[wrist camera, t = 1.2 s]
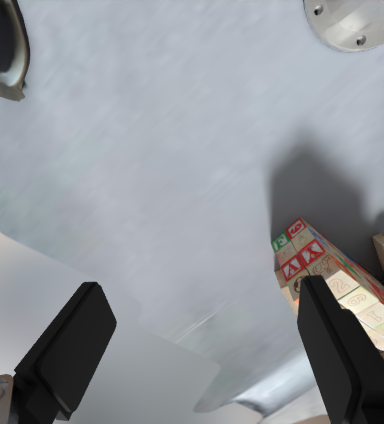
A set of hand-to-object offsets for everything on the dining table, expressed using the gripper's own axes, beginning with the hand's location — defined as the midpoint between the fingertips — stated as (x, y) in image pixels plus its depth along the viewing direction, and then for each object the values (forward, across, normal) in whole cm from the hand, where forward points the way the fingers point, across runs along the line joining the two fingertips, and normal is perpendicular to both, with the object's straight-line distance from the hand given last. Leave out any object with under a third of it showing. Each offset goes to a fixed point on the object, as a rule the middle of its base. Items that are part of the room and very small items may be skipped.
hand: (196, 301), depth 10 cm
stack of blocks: (+24, -18, +18) cm, 35 cm away
